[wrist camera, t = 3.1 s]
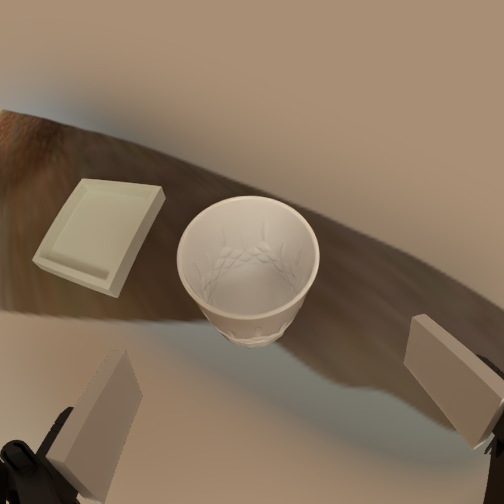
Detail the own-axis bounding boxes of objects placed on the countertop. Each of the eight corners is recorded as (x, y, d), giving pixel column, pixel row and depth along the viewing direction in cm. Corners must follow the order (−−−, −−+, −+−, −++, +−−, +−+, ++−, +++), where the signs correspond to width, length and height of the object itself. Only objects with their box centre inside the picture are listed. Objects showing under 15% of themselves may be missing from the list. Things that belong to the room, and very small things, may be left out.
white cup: (213, 267, 26) (192, 193, 18) (299, 272, 26) (316, 199, 17) (200, 350, 22) (163, 311, 14) (296, 358, 22) (320, 323, 13)
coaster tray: (41, 268, 27) (31, 260, 25) (88, 188, 33) (82, 178, 31) (117, 298, 25) (108, 289, 23) (166, 198, 31) (161, 186, 29)
